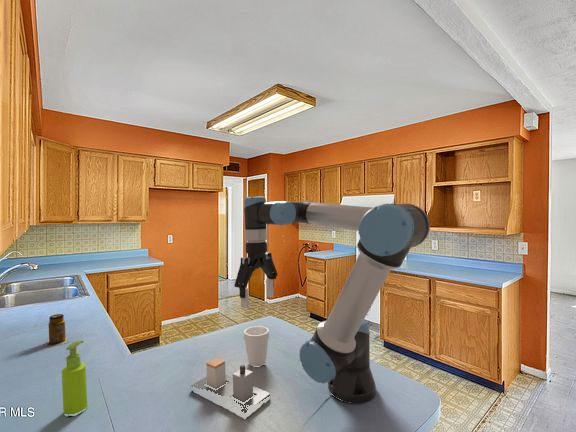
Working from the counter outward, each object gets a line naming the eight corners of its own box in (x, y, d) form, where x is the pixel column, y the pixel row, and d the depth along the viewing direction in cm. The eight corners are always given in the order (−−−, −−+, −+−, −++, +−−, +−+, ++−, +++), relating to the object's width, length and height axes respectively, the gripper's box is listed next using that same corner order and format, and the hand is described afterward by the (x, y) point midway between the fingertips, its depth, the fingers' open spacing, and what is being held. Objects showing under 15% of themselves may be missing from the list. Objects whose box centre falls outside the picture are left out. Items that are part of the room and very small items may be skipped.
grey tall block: (253, 400, 96) (252, 365, 95) (243, 408, 92) (242, 371, 92) (243, 396, 98) (242, 361, 98) (233, 403, 95) (232, 367, 94)
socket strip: (270, 401, 96) (270, 393, 96) (245, 421, 87) (245, 413, 87) (217, 377, 110) (216, 370, 110) (191, 393, 101) (190, 385, 101)
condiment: (66, 337, 148) (65, 312, 148) (67, 342, 142) (66, 316, 141) (46, 341, 143) (45, 315, 143) (47, 347, 137) (46, 320, 136)
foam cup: (246, 373, 113) (245, 337, 112) (243, 360, 121) (242, 327, 121) (272, 368, 115) (271, 334, 115) (267, 357, 124) (266, 324, 124)
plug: (217, 383, 105) (216, 357, 105) (225, 388, 103) (225, 361, 102) (207, 390, 102) (206, 362, 101) (215, 394, 99) (215, 366, 99)
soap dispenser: (93, 401, 98) (90, 338, 97) (79, 416, 91) (76, 349, 90) (74, 402, 97) (71, 339, 97) (58, 417, 91) (55, 349, 90)
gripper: (269, 237, 121) (271, 291, 122) (222, 244, 101) (224, 310, 101) (285, 238, 117) (287, 294, 117) (239, 246, 96) (241, 314, 97)
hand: (258, 301), depth 109 cm, fingers open, 13 cm apart
